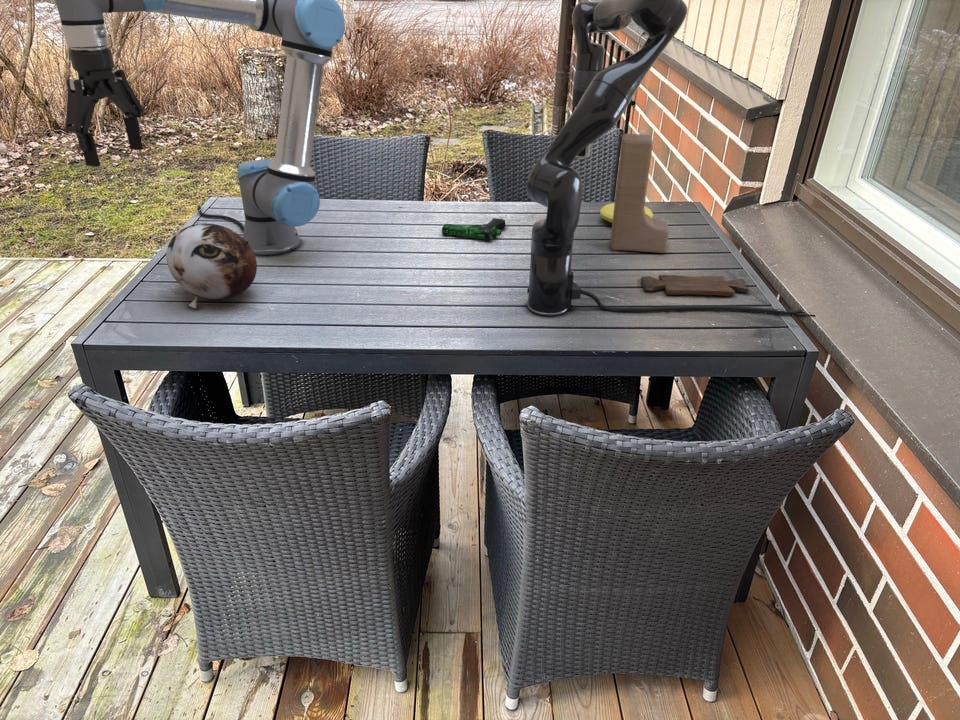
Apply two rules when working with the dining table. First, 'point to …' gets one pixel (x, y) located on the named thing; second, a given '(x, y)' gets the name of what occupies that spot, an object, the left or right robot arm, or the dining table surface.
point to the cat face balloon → (211, 261)
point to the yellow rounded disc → (609, 210)
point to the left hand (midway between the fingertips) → (116, 157)
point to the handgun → (476, 230)
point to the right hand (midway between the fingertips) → (582, 153)
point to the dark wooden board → (694, 285)
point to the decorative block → (635, 200)
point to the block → (586, 152)
